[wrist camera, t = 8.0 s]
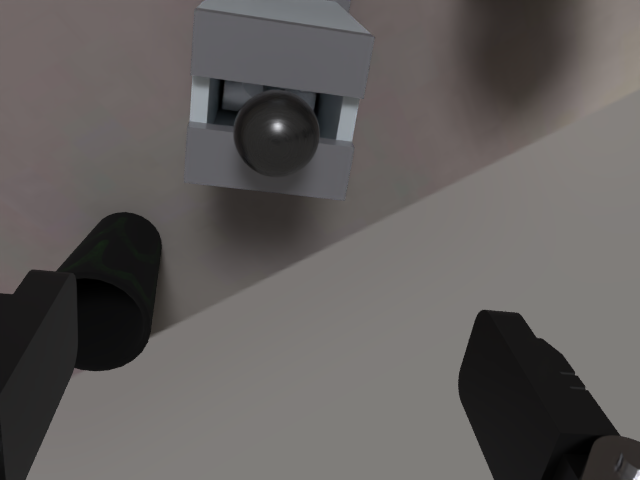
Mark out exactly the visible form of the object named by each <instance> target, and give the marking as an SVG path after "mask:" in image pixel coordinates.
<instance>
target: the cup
mask: <svg viewBox="0 0 640 480" xmlns="http://www.w3.org/2000/svg"><path fill="white" fill-rule="evenodd" d="M160 255H161V238H160V235H159V233H158V231H157V230H156V228H155V227H154V226H153V225H152V224H151V223H150V222H149V221H148V220H147V219H145V218H143V217H142V216H139V215H136V214H134V213H127V212H122V213H115V214H112V215H109V216H107V217H105V218H104V219H102V220H101V221H100V222H99V223H98V224H97V226H96V227H95V228H94V229H93V230H92V231H91V232H90V233H89V235H88V236H87V237H86V238H85V239H84V240H83V241H82V242H81V244H80V245H79V246H78V247H77V248H76V249H75V250H74V252H73V253H72V254H71V255H70V256H69V257H68V258H67V259H66V261H65V262H64V263H63V264H62V265H61V266H60V267H59V269H58V270H57V271H56V272H67V273H74V275H75V277H76V284H77V322H78V349H77V357H76V362H75V366H74V368H77V369H80V370H89V371H104V370H111V369H115V368H118V367H122V366H124V365H125V364H127V363H129V362H131V361H132V360H134V359H135V358H136V357H137V356H138V355H139V354H140V353H141V352H142V351H143V349H144V347H145V346H146V344H147V343H148V339H149V336H150V332H151V325H152V317H153V309H154V302H155V294H156V286H157V278H158V271H159V263H160Z"/></svg>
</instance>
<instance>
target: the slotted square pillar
mask: <svg viewBox="0 0 640 480" xmlns="http://www.w3.org/2000/svg"><path fill="white" fill-rule="evenodd" d="M350 2H351V0H204V1H203V2H202V3H201V4H200V5H199V6H198V7H197V8H196V9H195V10H194V26H193V43H192V59H191V75H193V77H192V93H191V109H190V122H189V124H188V126H187V141H186V157H185V173H184V183H192V184H201V185H210V186H219V187H228V188H236V189H245V190H254V191H263V192H272V193H281V194H290V195H298V196H307V197H316V198H325V199H334V200H343V201H345V197H346V191H347V186H348V180H349V175H350V170H351V164H352V159H353V153H354V145H353V143H352V138H353V133H354V127H355V122H356V116H357V111H358V105H359V100H360V98H361V99H364V93H365V88H366V82H367V77H368V71H369V66H370V60H371V55H372V50H373V44H374V39H375V37H374V36H373V35H372V34H371V33H370V32H369V31H367V30H366V29H365V28H364V27H363V26H362V25H361V24H360V23H359V22H358V21H357V20H355V19H354V18H353V17H352V16H351V15H350V14H349V8H350ZM225 80H229V81H237V82H244V83H251V84H259V85H266V86H273V87H281V88H288V89H295V90H303V91H310V92H317V93H316V99H315V106H314V113H315V115H316V117H317V120H318V124H319V131H320V138H319V144H318V148H317V151H316V153H315V155H314V157H313V158H312V160H311V161H310V162H309V163H308V164H307V166H305V167H304V168H303V169H302V170H300V171H298V172H297V173H295V174H292V175H289V176H285V177H269V176H265V175H262V174H259V173H257V172H255V171H254V170H252V169H251V168H250V167H248V166H247V165H246V164H245V163H244V162H243V160H242V159H241V157H240V156H239V154H238V152H237V150H236V147H235V143H234V137H233V128H234V122H235V119H236V117H237V114H238V112H239V111H234V110H226V109H222V107H223V96H224V84H225Z"/></svg>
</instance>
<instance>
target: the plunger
mask: <svg viewBox="0 0 640 480" xmlns="http://www.w3.org/2000/svg"><path fill="white" fill-rule="evenodd" d="M316 93H317V92H310V91H303V90H295V89H288V88H281V87H273V86H266V85H259V84H251V83H244V82H237V81H229V80H225V84H224V96H223V107H222V109H226V110H234V111H239V112H238V114H237V117H236V119H235V122H234V128H233V137H234V143H235V147H236V150H237V152H238V154H239V156H240V157H241V159H242V160H243V162H244V163H245V164H246V165H247V166H248V167H250V168H251V169H252V170H254V171H255V172H257V173H259V174H262V175H265V176H269V177H285V176H289V175H292V174H295V173H297V172H298V171H300V170H302V169H303V168H304V167H305V166H307V164H308V163H309V162H310V161H311V160H312V158H313V157H314V155H315V153H316V151H317V148H318V144H319V138H320V131H319V124H318V120H317V117H316V115H315V113H314V106H315V99H316Z"/></svg>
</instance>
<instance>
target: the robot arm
mask: <svg viewBox="0 0 640 480" xmlns="http://www.w3.org/2000/svg"><path fill="white" fill-rule="evenodd" d="M77 349H78V322H77V284H76V277H75V275H74V273H67V272H55V271H44V270H31V271H29V272H28V274H27V275H26V277H25V278H24V279H23V281H22V282H21V284H20V285H19V286H18V288H17V289H16V291H15V292H14V294H2V293H0V480H26V477H27V475H28V473H29V470H30V468H31V466H32V464H33V461H34V459H35V457H36V455H37V452H38V450H39V448H40V446H41V443H42V441H43V439H44V437H45V434H46V432H47V430H48V428H49V425H50V423H51V421H52V418H53V416H54V414H55V412H56V409H57V407H58V405H59V403H60V400H61V398H62V396H63V394H64V391H65V389H66V387H67V385H68V382H69V380H70V378H71V375H72V373H73V370H74V366H75V362H76V357H77ZM458 381H459V382H458V387H459V388H458V389H459V396H460V400H461V403H462V405H463V407H464V409H465V412H466V414H467V417H468V419H469V422H470V424H471V426H472V429H473V431H474V433H475V436H476V438H477V440H478V443H479V445H480V447H481V450H482V452H483V455H484V457H485V459H486V462H487V464H488V466H489V469H490V471H491V473H492V476H493V478H494V480H640V442H639V441H636V440H634V439H630V438H627V437H623V436H620V434H619V433H618V432H617V430H616V429H615V427H614V426H613V425H612V423H611V422H610V420H609V419H608V418H607V417H606V415H605V413H604V412H603V411H602V409H601V408H600V406H599V405H598V404H597V402H596V401H595V399H594V398H593V397H592V395H591V394H590V393H589V391H588V390H585V385H584V384H583V383H582V381H581V380H580V378H579V377H578V376H575V371H574V370H573V369H572V367H571V366H570V364H569V363H568V362H567V360H566V359H565V358H564V356H563V355H562V354H561V353H560V352H559V351H557V350H556V349H555V348H553V347H552V346H551V345H550V344H548V343H547V342H546V341H545V340H543V339H541V338H536V336H535V335H534V333H533V332H532V330H531V329H530V327H529V326H528V324H527V323H526V322H525V320H524V319H523V317H522V316H521V315H520V314H519V313H515V312H503V311H492V310H482V311H480V312H479V313H478V315H477V317H476V319H475V323H474V325H473V329H472V332H471V335H470V339H469V342H468V345H467V348H466V352H465V355H464V358H463V362H462V365H461V368H460V372H459V380H458Z"/></svg>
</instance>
